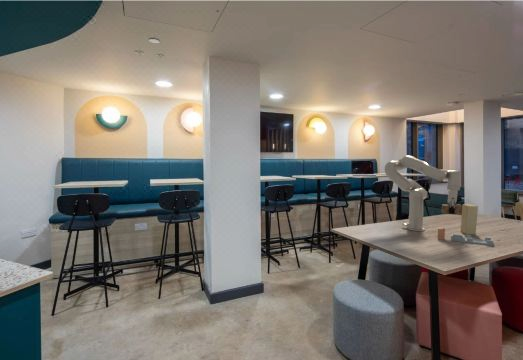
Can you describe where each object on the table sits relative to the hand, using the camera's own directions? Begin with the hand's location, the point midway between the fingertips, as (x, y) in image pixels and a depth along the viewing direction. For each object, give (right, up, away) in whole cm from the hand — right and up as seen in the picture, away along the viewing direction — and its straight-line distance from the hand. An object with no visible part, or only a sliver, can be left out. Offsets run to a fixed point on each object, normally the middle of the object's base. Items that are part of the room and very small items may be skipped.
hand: (451, 212), depth 200 cm
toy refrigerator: (+17, -16, +7) cm, 25 cm away
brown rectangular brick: (-12, -17, -7) cm, 22 cm away
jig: (+4, -18, -14) cm, 23 cm away
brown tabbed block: (0, -1, 0) cm, 1 cm away
